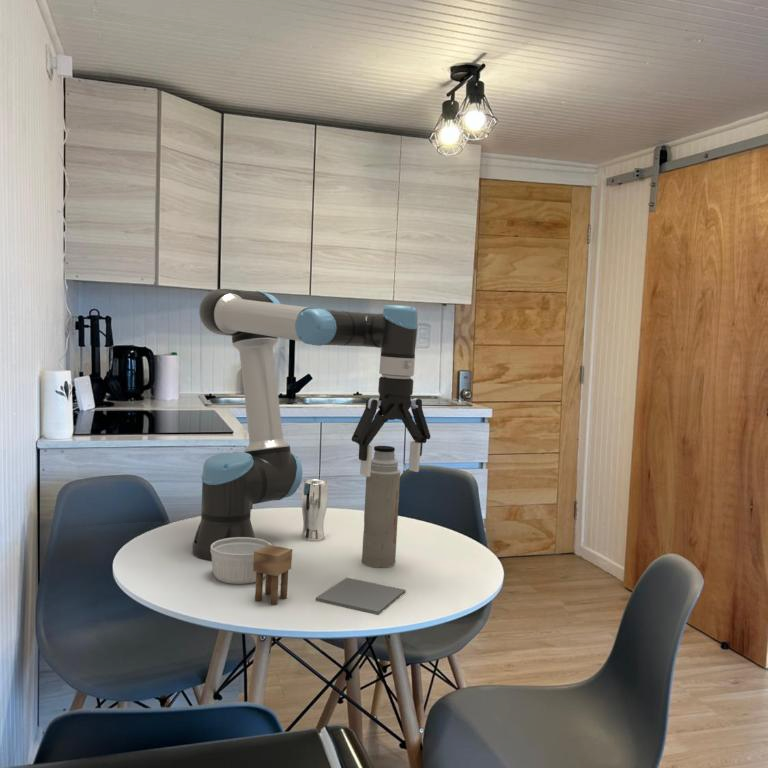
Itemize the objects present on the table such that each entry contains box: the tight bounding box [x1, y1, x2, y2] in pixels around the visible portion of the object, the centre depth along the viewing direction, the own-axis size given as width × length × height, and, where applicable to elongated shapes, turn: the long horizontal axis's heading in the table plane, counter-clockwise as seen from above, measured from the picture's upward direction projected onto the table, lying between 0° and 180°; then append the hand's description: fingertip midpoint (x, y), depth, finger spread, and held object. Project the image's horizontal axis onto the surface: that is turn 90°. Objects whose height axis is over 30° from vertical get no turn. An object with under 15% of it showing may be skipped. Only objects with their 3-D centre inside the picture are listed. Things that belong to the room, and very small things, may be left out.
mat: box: [315, 577, 406, 615], centre depth 148 cm, size 14×14×1 cm
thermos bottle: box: [361, 445, 401, 568], centre depth 170 cm, size 8×8×28 cm
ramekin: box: [210, 537, 272, 585], centre depth 157 cm, size 13×13×7 cm
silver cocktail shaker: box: [300, 478, 329, 542], centre depth 188 cm, size 7×7×15 cm
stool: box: [253, 544, 293, 606], centre depth 144 cm, size 6×6×10 cm
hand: (389, 473), depth 157 cm, fingers open, 13 cm apart
